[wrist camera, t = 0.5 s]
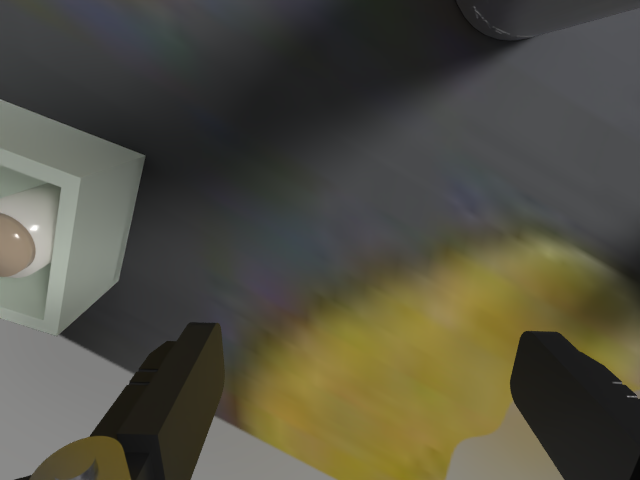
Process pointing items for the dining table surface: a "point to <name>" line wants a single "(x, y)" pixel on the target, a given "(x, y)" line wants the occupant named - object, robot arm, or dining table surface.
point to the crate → (67, 215)
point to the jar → (28, 230)
